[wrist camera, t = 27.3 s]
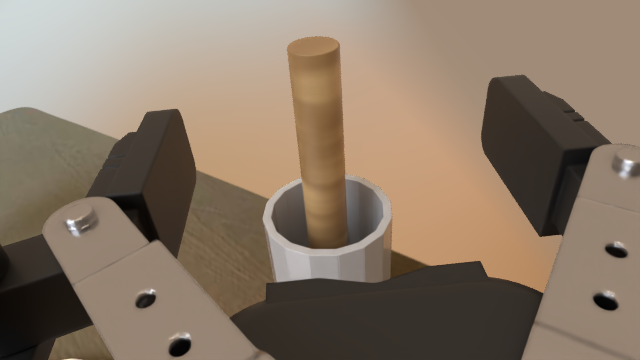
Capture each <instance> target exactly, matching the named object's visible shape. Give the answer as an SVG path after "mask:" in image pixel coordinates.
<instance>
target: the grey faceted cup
mask: <svg viewBox="0 0 640 360" xmlns="http://www.w3.org/2000/svg"><path fill="white" fill-rule="evenodd" d="M345 179H346V202H347V225H348V246H345V247H342V248H338V249H310V248H309V239H308V230H307V221H306V212H305V204H304V195H303V186H302V178H299V179H296V180H294V181H293V182H291V183H289V184H287V185H285V186H284V187H282V188H280V189H279V190H278V191H277V192H276V193H275V194H274V195H273V196H272V197H271V198H270V200H269V201H268V202H267V204H266V208H265V212H264V216H263V223H264V229H265V234H266V240H267V245H268V250H269V256H270V261H271V267H272V272H273V277H274V282H284V281H294V280H303V279H313V278H326V279H337V280H347V281H357V282H368V283H377V282H382V281H385V280H388V279H390V272H391V237H392V210H391V202H390V200H389V199H388V197H387V196H386V195H385V193H384V192H383V191H382V189H381V188H380V187H378V186H377V185H375V184H373V183H371V182H370V181H368V180H366V179H364V178H361V177H357V176H353V175H348V174H345Z"/></svg>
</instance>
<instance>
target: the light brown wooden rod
mask: <svg viewBox="0 0 640 360" xmlns="http://www.w3.org/2000/svg"><path fill="white" fill-rule="evenodd" d="M287 52H288V61H289V70H290V79H291V88H292V96H293V106H294V114H295V123H296V132H297V141H298V150H299V159H300V167H301V176H302V186H303V195H304V204H305V212H306V221H307V230H308V239H309V248H310V249H338V248H342V247H345V246H348V225H347V202H346V179H345V158H344V135H343V112H342V88H341V67H340V66H341V65H340V44H339V42H338V41H337V40H335V39H332V38H329V37H307V38H302V39H298V40H296V41H293V42H292V43H290V44H289V45H288V47H287Z"/></svg>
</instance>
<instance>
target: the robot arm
mask: <svg viewBox="0 0 640 360" xmlns="http://www.w3.org/2000/svg"><path fill="white" fill-rule="evenodd" d="M481 138H482V139H481V140H482V147H483V150H484V153H485V155H486V156H487V158H488V159H489V161H490V162H491V164H492V165H493V167H494V168H495V170H496V171H497V173H498V174H499V176H500V178H501V179H502V180H503V182H504V184H505V185H506V186H507V188H508V189H509V191H510V193H511V194H512V196H513V197H514V199H515V200H516V202H517V203H518V205H519V206H520V208H521V209H522V211H523V212H524V214H525V215H526V217H527V218H528V220H529V221H530V223H531V224H532V226H533V227H534V229H535V230H536V232H537V233H538V235H539V236H540V237H542V236H551V235H562V236H563V238H562V241H561V244H560V247H559V250H558V253H557V256H556V259H555V262H554V265H553V268H552V271H551V274H550V277H549V280H548V283H547V286H546V289H545V292H544V294H543V293H541V292H539V291H537V290H535V289H533V288H530V287H527V286H525V285H522V284H519V283H516V282H512V281H509V280H504V279H499V278H492V277H488V276H487V274H486V272H485V270H484V268H483V266H482V264H481V262H480V261H474V262H465V263H455V264H446V265H437V266H428V267H424V268H421V269H418V270H415V271H412V272H409V273H406V274H403V275H400V276H397V277H394V278H391V279H388V280H385V281H382V282H377V283H368V282H357V281H347V280H337V279H326V278H313V279H303V280H294V281H284V282H274V283H266V300H264V301H262V302H259V303H256V304H254V305H252V306H249V307H247V308H245V309H243V310H242V311H240V312H238V313H236V314H235V315H233V316H232V317H230V318H228V316H227V315H226V314H225V313H224V312H223V311H222V310H221V309H220V307H219V306H218V305H217V304H216V303H215V302H214V301H213V300H212V299H211V297H210V296H209V295H208V294H207V293H206V292H205V291H204V290H203V289H202V287H201V286H200V285H199V284H198V283H197V282H196V281H195V280H194V278H193V277H192V276H191V275H190V274H189V273H188V272H187V271H186V270H185V268H184V267H183V266H182V265H181V264H180V263H179V262H178V261H177V256H178V252H179V248H180V244H181V240H182V236H183V232H184V228H185V224H186V220H187V216H188V212H189V208H190V204H191V200H192V196H193V192H194V188H195V184H196V167H195V162H194V158H193V155H192V151H191V147H190V144H189V140H188V137H187V133H186V130H185V126H184V123H183V119H182V116H181V114H180V112H179V110H178V109H170V110H161V111H151V112H147V113H146V114H145V116H144V118H143V120H142V122H141V124H140V126H139V128H138V130H137V132H131V133H128V134H127V135H125V136H124V137H123V138H122V139H121V140H119V141H118V142H117V143H116V144H115V145H114V147H113V148H112V150H111V152H110V154H109V156H108V159H106V161H105V163H104V165H103V166H102V167H103V169H101V170H100V172H99V174H98V176H97V177H96V179H95V181H94V183H93V185H92V186H91V188H90V190H89V192H88V194H87V195H86V197H85V198H84V199H80V200H77V201H74V202H71V203H69V204H67V205H65V206H63V207H62V208H60V209H58V210H57V211H56V212H54V213H53V214H52V215H51V216H50V217H49V218H48V219H47V221H46V222H45V224H44V226H43V229H42V233H43V234H41V235H38V236H35V237H32V238H29V239H26V240H22V241H19V242H16V243H13V244H9V245H6V246H3V247H2V246H1V244H0V360H48V358H49V355H50V353H51V350H52V347H53V345H54V342H55V339H56V338H58V337H61V336H64V335H66V334H69V333H72V332H75V331H77V330H80V329H83V328H85V327H88V326H91V325H95V327H96V329H97V330H98V332H99V334H100V336H101V337H102V339H103V341H104V343H105V344H106V346H107V348H108V350H109V351H110V353H111V355H112V356H113V358H114V360H640V147H638V146H634V145H628V144H612V143H611V142H610V141H609V140H607V139H606V138H605V137H604V136H603V135H602V134H601V133H600V132H599V131H597V130H596V129H595V128H594V127H593V126H592V125H591V124H590V123H589V122H587V121H584V118H583V117H582V116H581V115H579V114H578V113H577V112H575V110H574V109H573V108H572V107H571V106H570V105H568V104H567V103H566V102H565V101H564V100H563V99H561V98H558V97H556V96H554V95H552V94H550V93H547V92H545V91H544V92H542V91H541V90H540V89H539V88H538V87H537V86H536V85H535V84H534V83H533V82H531V81H530V80H529V79H528V78H527V77H526V76H525V75H515V76H506V77H496V78H492V80H491V81H490V83H489V87H488V92H487V99H486V105H485V112H484V119H483V126H482V133H481Z"/></svg>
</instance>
